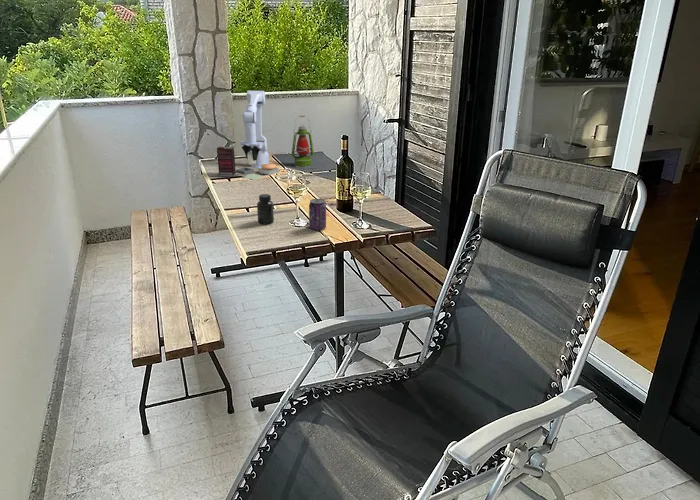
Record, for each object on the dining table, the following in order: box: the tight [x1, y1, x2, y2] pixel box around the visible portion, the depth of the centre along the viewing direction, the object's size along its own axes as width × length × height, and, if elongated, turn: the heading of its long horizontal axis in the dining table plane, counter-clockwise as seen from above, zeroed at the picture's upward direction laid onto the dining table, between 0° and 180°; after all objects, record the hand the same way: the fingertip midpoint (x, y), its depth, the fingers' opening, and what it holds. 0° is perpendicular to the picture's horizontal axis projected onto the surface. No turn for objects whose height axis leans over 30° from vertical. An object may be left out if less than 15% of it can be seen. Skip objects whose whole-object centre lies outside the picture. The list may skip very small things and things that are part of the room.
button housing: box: [258, 167, 280, 176], centre depth 304 cm, size 8×8×3 cm
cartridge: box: [247, 151, 256, 166], centre depth 292 cm, size 4×4×6 cm
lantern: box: [291, 115, 315, 167], centre depth 316 cm, size 14×11×30 cm
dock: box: [236, 167, 259, 176], centre depth 305 cm, size 10×10×2 cm
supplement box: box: [216, 146, 237, 177], centre depth 295 cm, size 9×5×16 cm, turn 84°
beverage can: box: [308, 198, 327, 231], centre depth 221 cm, size 7×7×12 cm
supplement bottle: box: [256, 193, 275, 226], centre depth 226 cm, size 7×7×12 cm
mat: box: [241, 173, 265, 181], centre depth 296 cm, size 9×9×1 cm
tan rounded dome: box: [261, 163, 277, 169], centre depth 303 cm, size 8×8×4 cm
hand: (251, 159), depth 292 cm, fingers closed on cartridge, 4 cm apart
